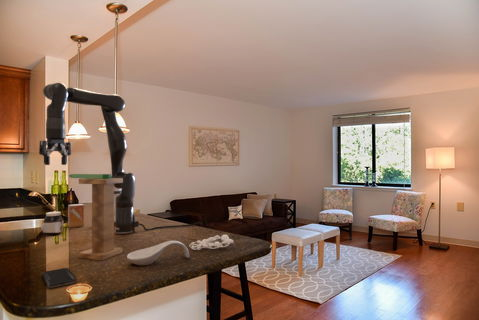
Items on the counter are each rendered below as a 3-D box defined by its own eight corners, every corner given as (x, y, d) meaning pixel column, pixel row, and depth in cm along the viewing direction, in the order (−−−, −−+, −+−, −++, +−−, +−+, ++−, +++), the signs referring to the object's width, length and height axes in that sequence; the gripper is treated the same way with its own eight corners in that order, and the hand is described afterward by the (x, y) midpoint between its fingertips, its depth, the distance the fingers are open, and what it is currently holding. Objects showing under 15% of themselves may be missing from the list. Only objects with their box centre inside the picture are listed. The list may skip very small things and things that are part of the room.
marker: (68, 178, 140) (68, 173, 140) (72, 177, 141) (72, 173, 141) (108, 178, 133) (108, 174, 133) (111, 178, 135) (111, 174, 135)
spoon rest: (128, 270, 116) (128, 250, 116) (125, 261, 126) (125, 242, 126) (192, 261, 126) (192, 242, 126) (184, 253, 136) (183, 236, 137)
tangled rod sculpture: (193, 256, 136) (192, 246, 136) (186, 245, 150) (186, 236, 149) (236, 250, 142) (236, 241, 142) (226, 240, 156) (226, 232, 156)
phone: (67, 267, 115) (76, 279, 103) (67, 270, 115) (76, 282, 103) (41, 272, 110) (48, 285, 98) (41, 275, 110) (48, 288, 98)
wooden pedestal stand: (76, 257, 131) (76, 178, 132) (98, 249, 143) (98, 177, 143) (104, 260, 127) (104, 179, 127) (124, 252, 138) (124, 178, 139)
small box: (69, 227, 192) (69, 205, 192) (68, 225, 197) (68, 204, 197) (84, 226, 196) (84, 204, 196) (82, 224, 201) (82, 203, 202)
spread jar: (54, 236, 169) (54, 214, 169) (33, 236, 170) (33, 214, 170) (67, 231, 181) (67, 210, 181) (47, 231, 182) (47, 210, 182)
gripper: (47, 126, 135) (47, 165, 135) (75, 129, 149) (75, 164, 149) (34, 127, 138) (34, 165, 138) (62, 130, 151) (63, 164, 151)
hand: (55, 164), depth 143 cm, fingers open, 8 cm apart
